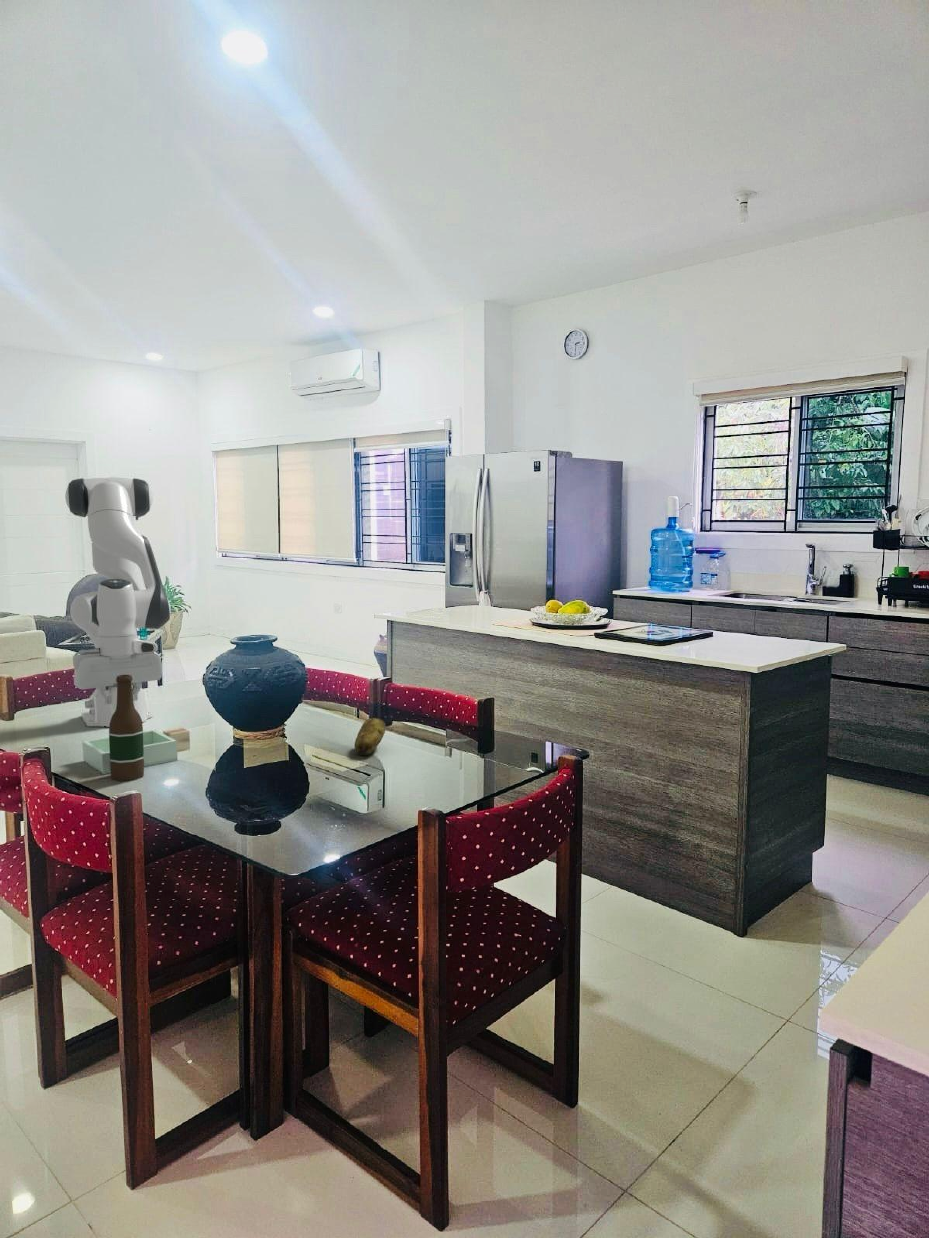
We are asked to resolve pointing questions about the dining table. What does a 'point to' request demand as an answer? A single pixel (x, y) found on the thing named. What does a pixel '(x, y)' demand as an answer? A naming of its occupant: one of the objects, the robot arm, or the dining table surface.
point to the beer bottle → (126, 735)
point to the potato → (369, 735)
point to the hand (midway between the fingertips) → (120, 702)
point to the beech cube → (179, 737)
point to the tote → (154, 744)
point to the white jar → (113, 698)
